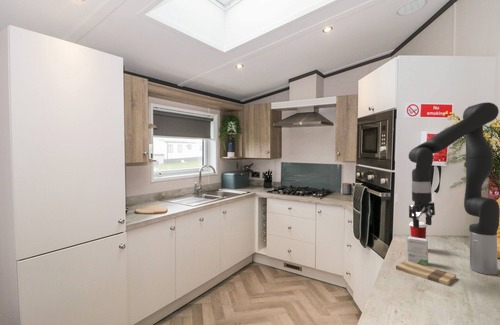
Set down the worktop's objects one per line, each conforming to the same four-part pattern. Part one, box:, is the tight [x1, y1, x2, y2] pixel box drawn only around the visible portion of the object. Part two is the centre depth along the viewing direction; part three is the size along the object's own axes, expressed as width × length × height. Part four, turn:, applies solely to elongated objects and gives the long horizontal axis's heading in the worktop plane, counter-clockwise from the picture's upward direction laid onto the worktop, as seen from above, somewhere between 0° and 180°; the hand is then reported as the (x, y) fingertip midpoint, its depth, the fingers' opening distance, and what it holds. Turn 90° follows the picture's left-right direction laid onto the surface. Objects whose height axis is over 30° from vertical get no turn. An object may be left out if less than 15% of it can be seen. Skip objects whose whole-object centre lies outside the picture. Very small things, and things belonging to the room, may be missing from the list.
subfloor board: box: [395, 259, 457, 287], centre depth 114 cm, size 10×20×2 cm, turn 35°
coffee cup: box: [408, 220, 428, 239], centre depth 142 cm, size 8×8×15 cm
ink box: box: [406, 235, 429, 267], centre depth 126 cm, size 9×5×12 cm, turn 54°
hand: (422, 226), depth 117 cm, fingers open, 8 cm apart
